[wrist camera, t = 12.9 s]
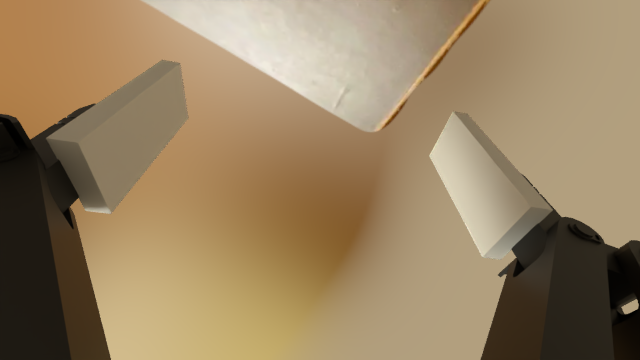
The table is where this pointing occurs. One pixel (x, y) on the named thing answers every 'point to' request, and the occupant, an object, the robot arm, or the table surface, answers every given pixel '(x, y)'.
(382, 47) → the table surface
